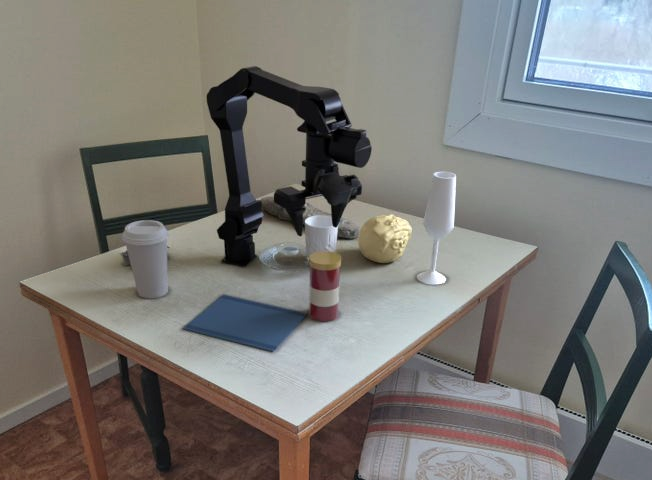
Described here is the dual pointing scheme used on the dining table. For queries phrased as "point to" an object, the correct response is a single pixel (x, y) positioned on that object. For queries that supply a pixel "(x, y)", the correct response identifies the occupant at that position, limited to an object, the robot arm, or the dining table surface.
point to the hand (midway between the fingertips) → (317, 231)
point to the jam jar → (324, 285)
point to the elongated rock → (344, 226)
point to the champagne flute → (439, 219)
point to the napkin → (246, 322)
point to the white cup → (320, 234)
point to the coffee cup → (148, 256)
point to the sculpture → (384, 238)
